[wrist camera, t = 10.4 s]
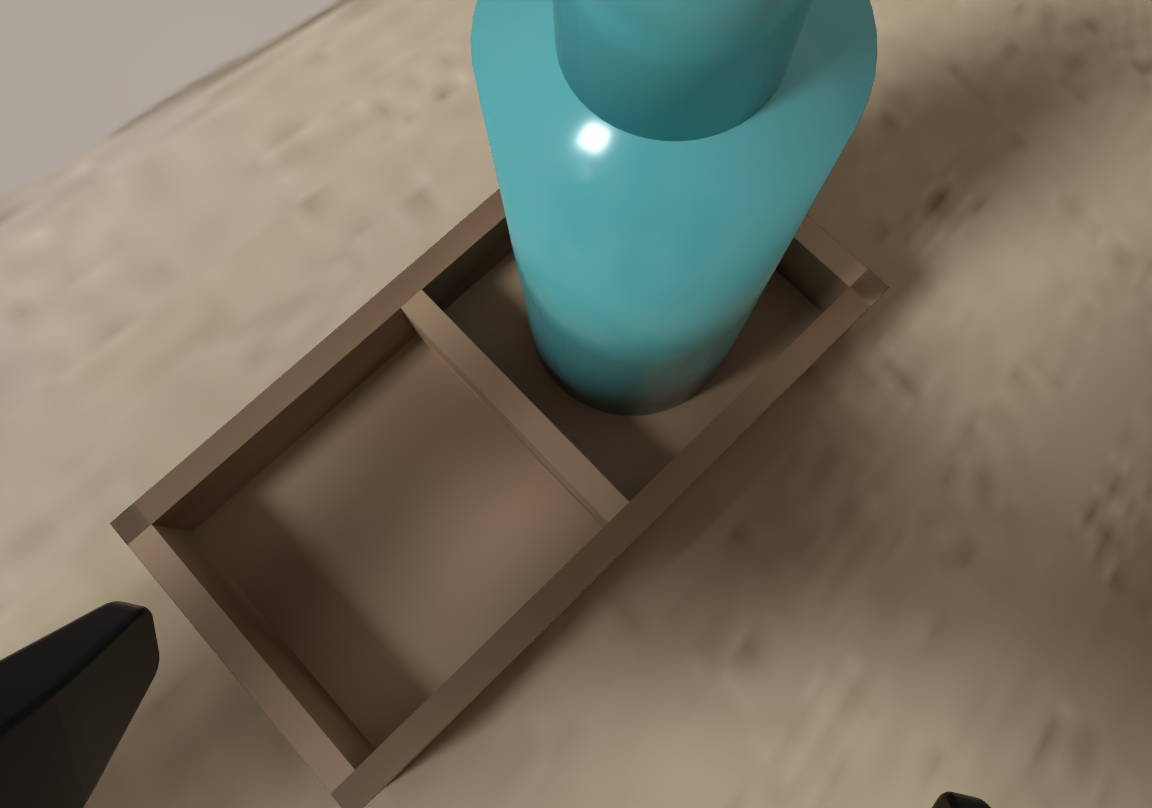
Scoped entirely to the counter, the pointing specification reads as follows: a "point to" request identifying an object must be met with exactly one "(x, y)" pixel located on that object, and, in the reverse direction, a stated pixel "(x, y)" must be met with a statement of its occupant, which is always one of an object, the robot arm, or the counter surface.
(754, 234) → the bottle
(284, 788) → the counter surface
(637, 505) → the caddy
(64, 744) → the robot arm
